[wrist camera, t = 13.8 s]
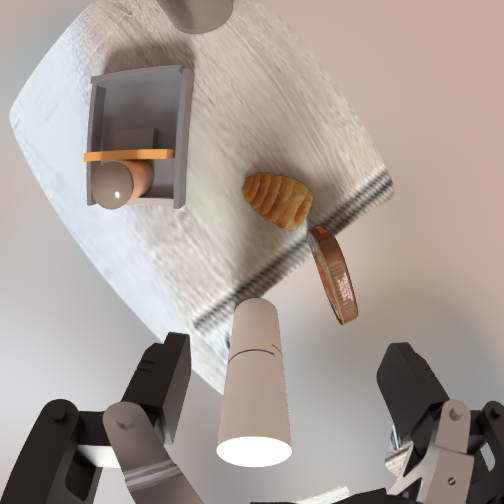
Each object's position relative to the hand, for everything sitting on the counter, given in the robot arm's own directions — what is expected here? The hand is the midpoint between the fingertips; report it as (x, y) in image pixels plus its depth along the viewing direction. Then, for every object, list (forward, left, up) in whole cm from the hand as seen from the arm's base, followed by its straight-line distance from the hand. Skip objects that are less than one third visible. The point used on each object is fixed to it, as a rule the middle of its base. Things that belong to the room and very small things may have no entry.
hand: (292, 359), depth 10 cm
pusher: (-8, -19, -30) cm, 36 cm away
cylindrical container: (+18, 0, -30) cm, 35 cm away
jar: (-3, -19, -30) cm, 35 cm away
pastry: (-1, +2, -31) cm, 31 cm away
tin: (+8, +10, -30) cm, 33 cm away
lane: (-10, -19, -30) cm, 37 cm away
